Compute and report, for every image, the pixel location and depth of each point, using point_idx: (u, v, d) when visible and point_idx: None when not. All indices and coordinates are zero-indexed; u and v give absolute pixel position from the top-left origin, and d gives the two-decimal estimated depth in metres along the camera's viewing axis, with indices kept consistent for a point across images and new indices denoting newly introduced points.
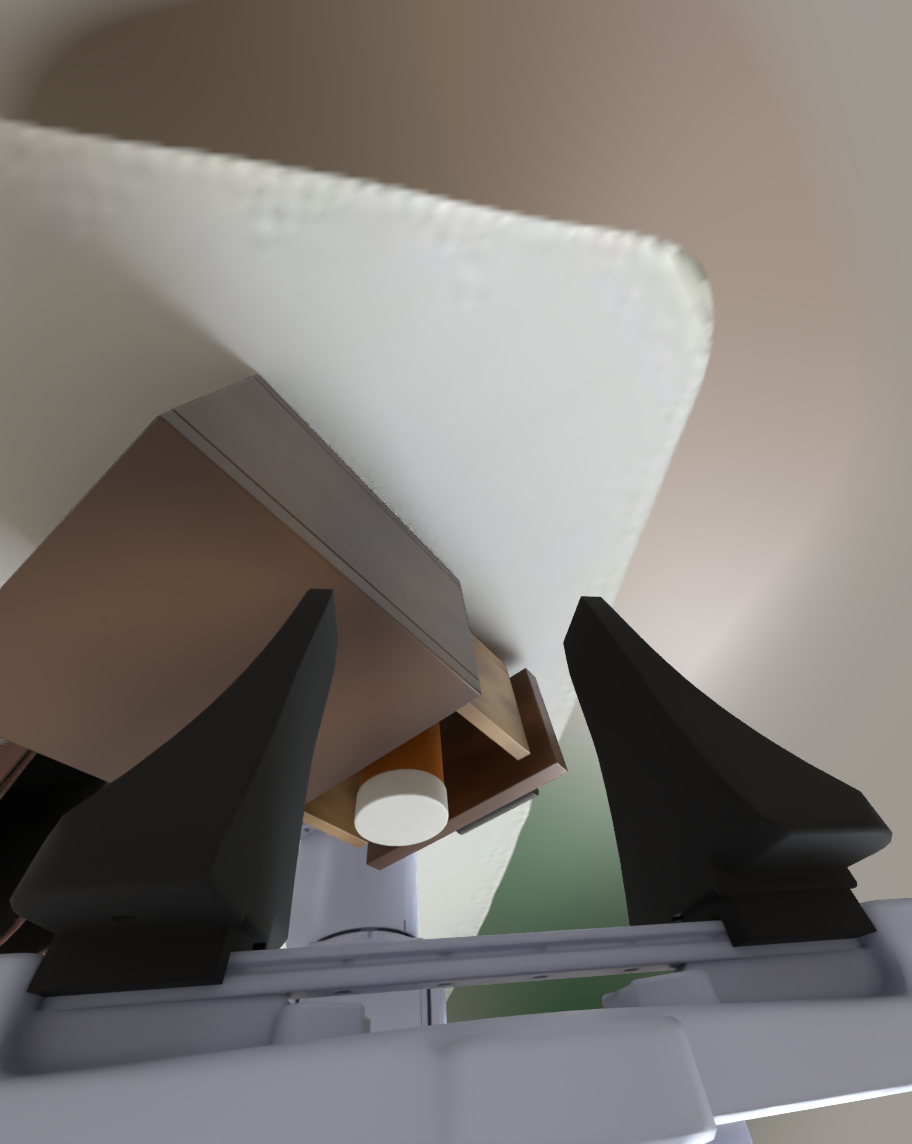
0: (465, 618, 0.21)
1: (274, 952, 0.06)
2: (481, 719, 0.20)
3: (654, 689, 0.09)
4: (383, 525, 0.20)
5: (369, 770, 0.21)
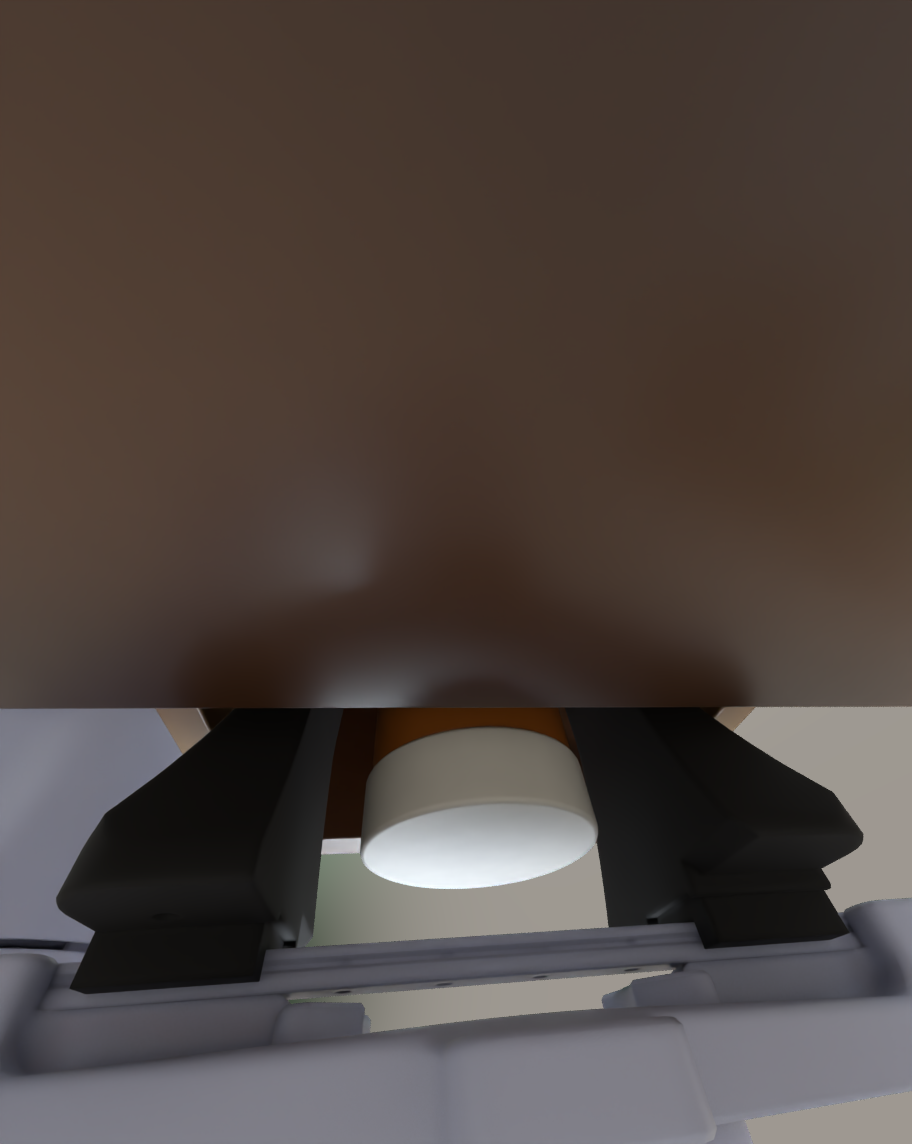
0: None
1: (274, 951, 0.06)
2: (728, 725, 0.09)
3: None
4: None
5: None
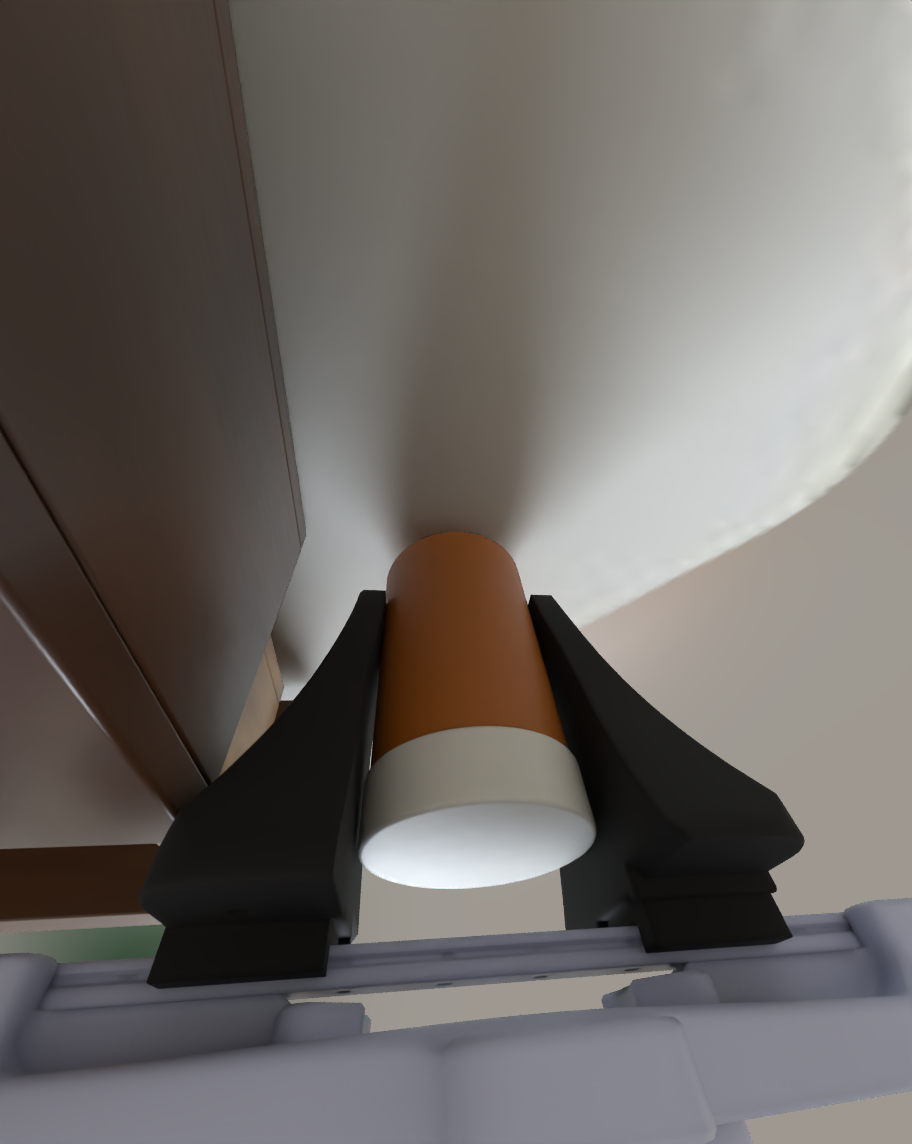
0: (274, 613, 0.10)
1: None
2: None
3: (587, 689, 0.09)
4: (235, 323, 0.08)
5: (470, 702, 0.08)
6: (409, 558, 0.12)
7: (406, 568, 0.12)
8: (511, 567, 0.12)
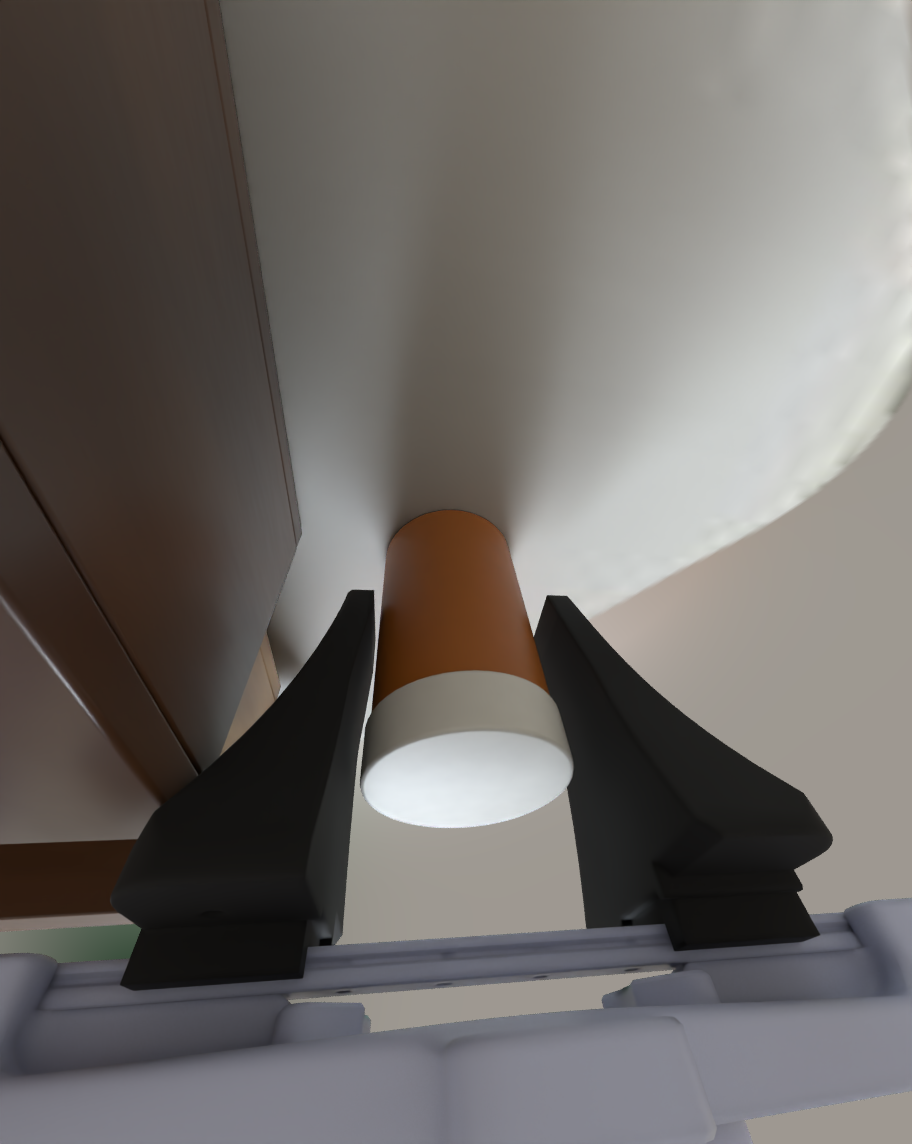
0: (270, 611, 0.10)
1: None
2: None
3: (609, 689, 0.09)
4: (228, 322, 0.08)
5: (460, 651, 0.09)
6: (407, 534, 0.13)
7: (403, 543, 0.13)
8: (501, 543, 0.13)
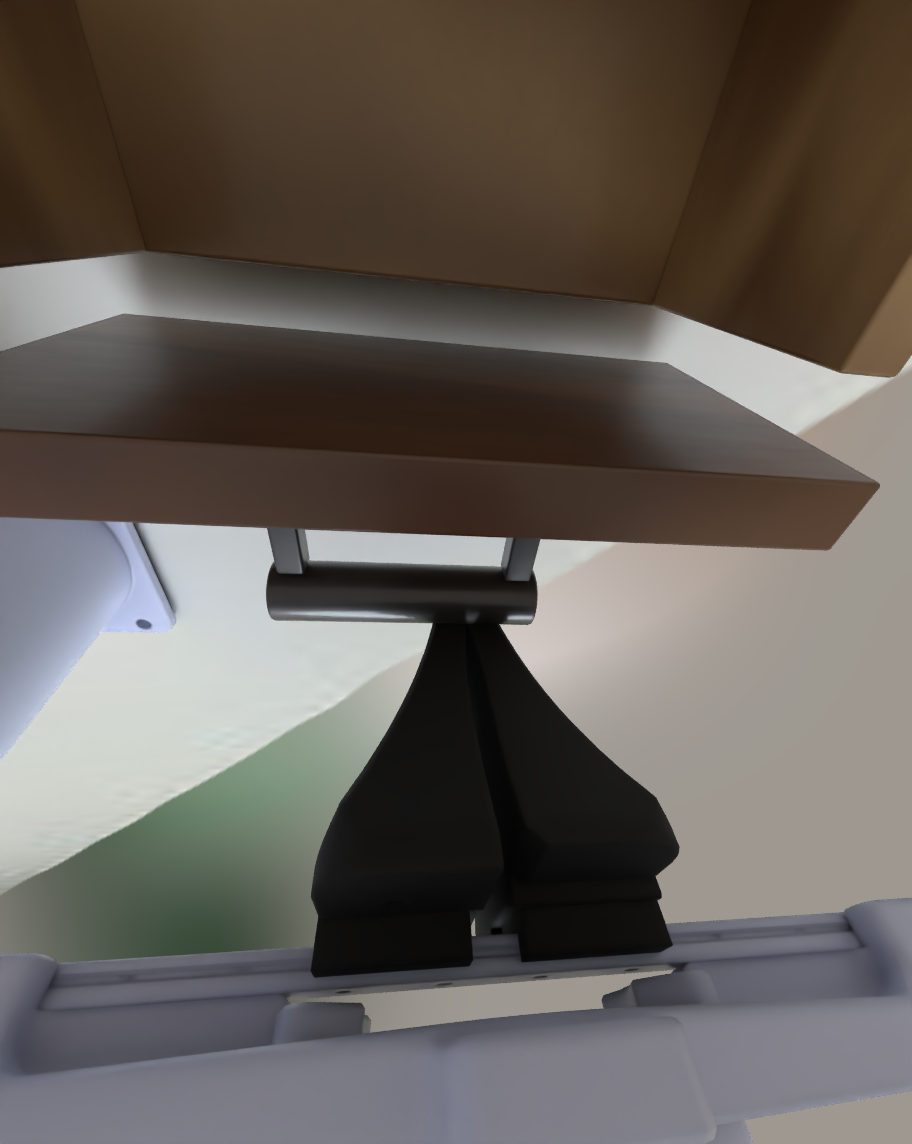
0: None
1: (273, 951, 0.06)
2: None
3: (493, 688, 0.09)
4: None
5: None
6: None
7: None
8: None
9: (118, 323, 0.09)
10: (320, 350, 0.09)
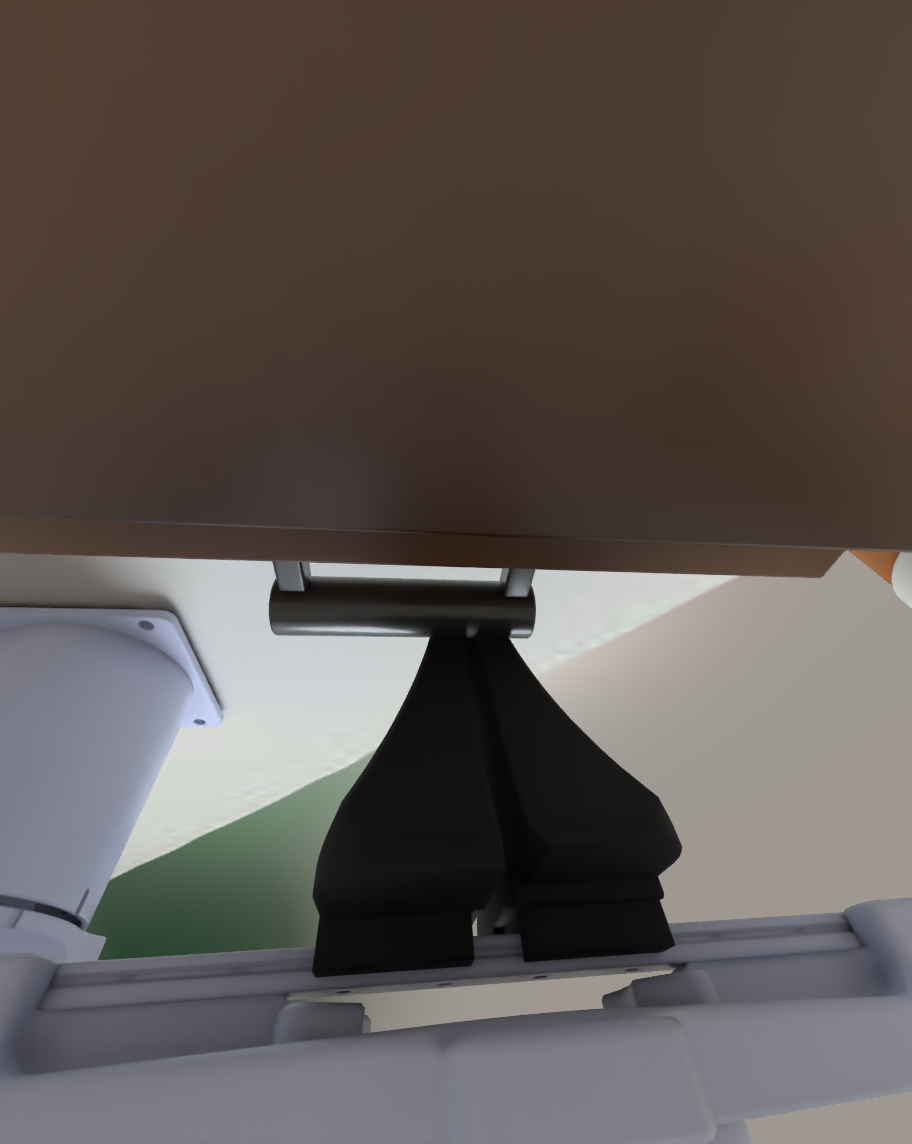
0: None
1: (274, 951, 0.06)
2: None
3: (494, 688, 0.09)
4: None
5: None
6: None
7: None
8: None
9: None
10: None
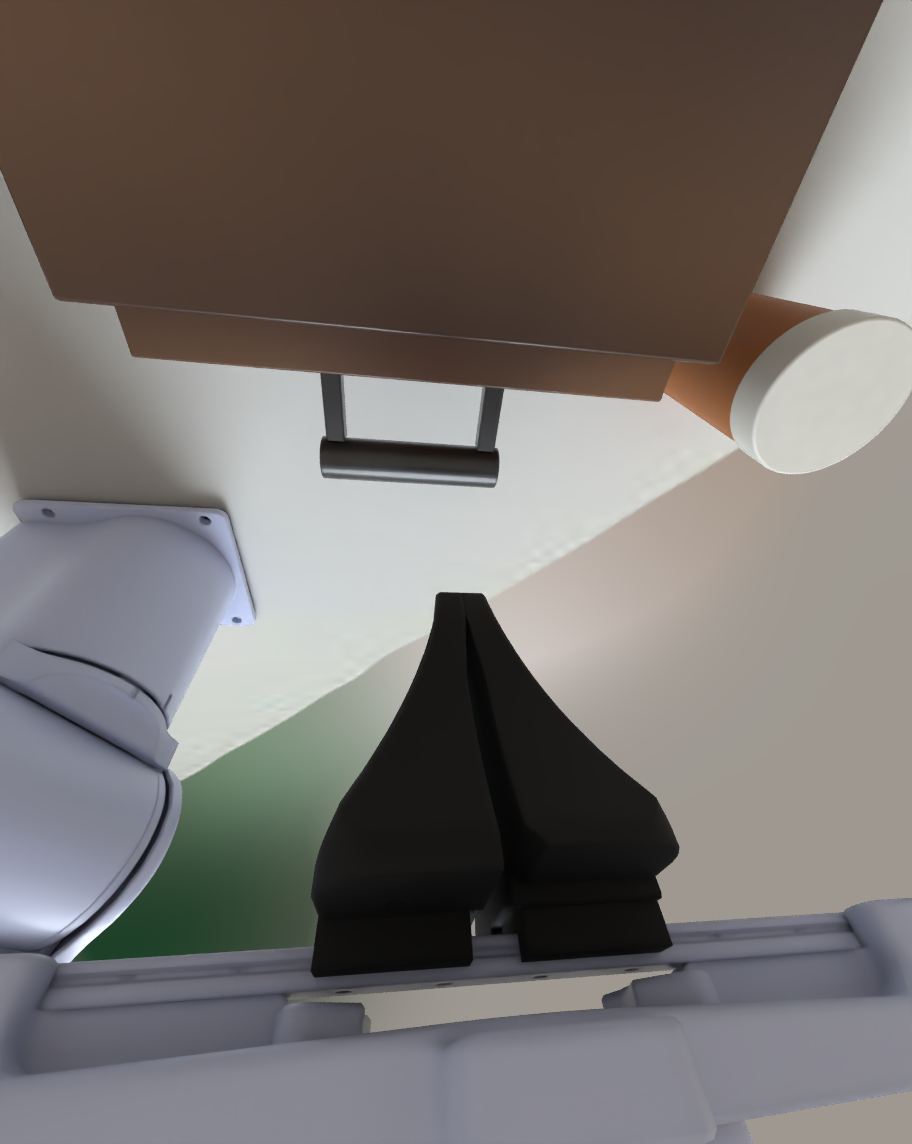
0: None
1: (273, 951, 0.06)
2: None
3: (492, 688, 0.09)
4: None
5: (826, 310, 0.12)
6: None
7: None
8: None
9: None
10: None
